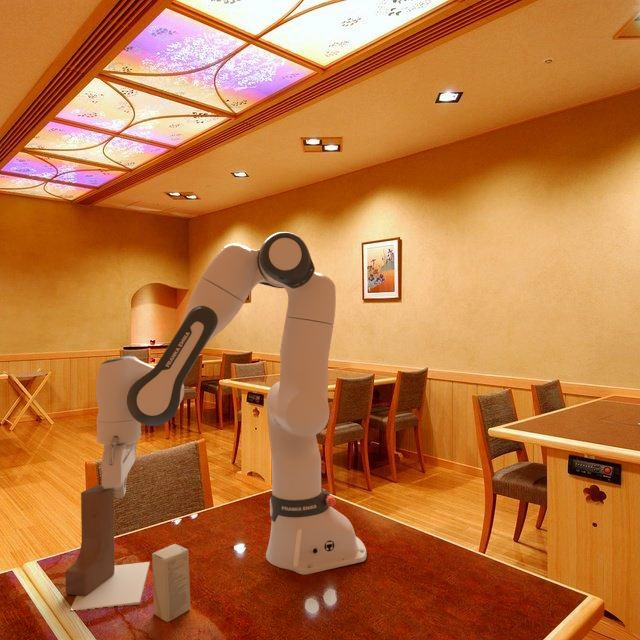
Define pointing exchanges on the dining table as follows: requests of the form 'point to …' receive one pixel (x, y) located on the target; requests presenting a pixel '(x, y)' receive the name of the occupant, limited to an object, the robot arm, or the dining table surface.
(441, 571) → the dining table surface
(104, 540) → the wooden block
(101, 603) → the mat
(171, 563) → the box
